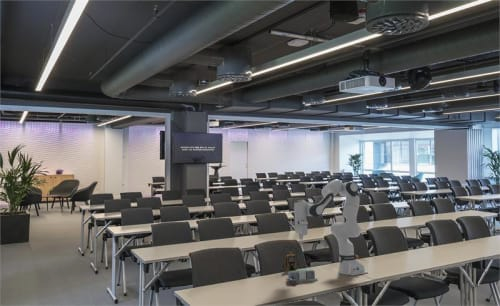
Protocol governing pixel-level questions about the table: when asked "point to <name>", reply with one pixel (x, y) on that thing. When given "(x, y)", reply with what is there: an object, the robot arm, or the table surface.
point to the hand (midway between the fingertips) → (301, 239)
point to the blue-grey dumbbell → (309, 276)
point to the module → (301, 274)
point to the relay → (292, 281)
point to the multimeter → (291, 261)
